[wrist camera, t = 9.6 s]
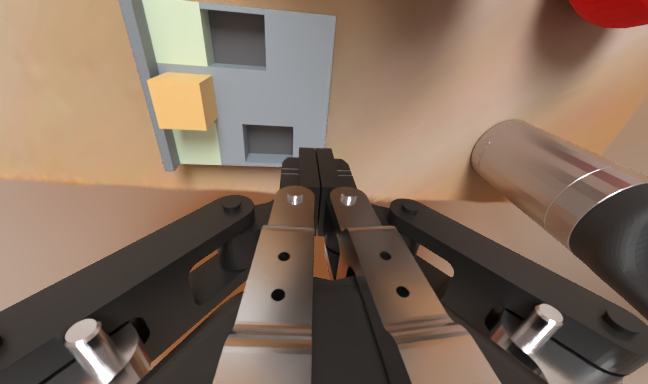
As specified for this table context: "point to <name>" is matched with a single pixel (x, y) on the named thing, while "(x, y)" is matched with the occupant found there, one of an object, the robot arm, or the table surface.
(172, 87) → the block
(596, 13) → the tomato
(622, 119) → the table surface
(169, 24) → the board
